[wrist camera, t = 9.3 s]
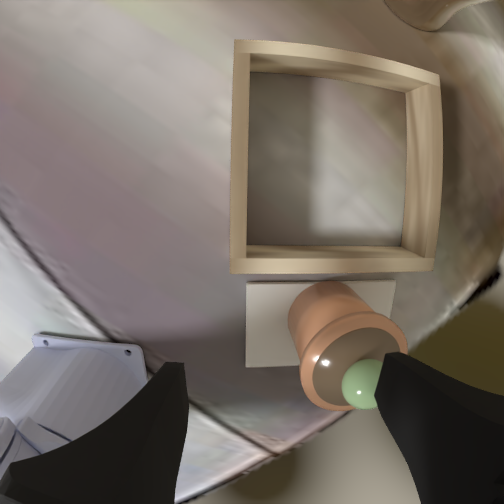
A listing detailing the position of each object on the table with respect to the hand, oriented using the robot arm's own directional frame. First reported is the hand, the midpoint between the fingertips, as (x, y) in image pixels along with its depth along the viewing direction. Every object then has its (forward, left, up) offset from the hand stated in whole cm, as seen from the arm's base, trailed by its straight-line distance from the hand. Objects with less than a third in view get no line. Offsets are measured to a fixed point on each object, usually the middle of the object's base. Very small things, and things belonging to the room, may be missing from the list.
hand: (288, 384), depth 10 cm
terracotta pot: (+4, -2, -9) cm, 10 cm away
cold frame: (+4, +8, -9) cm, 13 cm away
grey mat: (+4, -2, -9) cm, 11 cm away
